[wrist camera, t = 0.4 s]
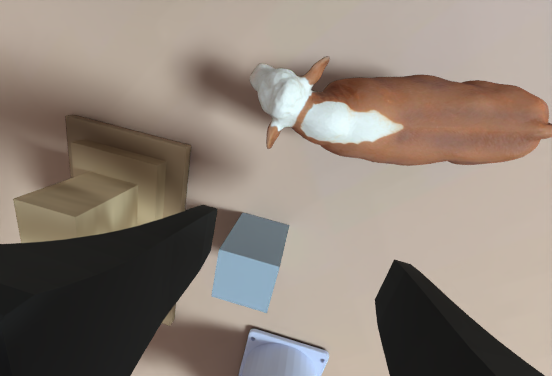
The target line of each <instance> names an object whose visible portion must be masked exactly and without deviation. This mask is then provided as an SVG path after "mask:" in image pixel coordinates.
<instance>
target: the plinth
mask: <svg viewBox="0 0 552 376" xmlns="http://www.w3.org/2000/svg"><path fill="white" fill-rule="evenodd" d="M65 118H66V129H67V141H68V153H69V164H70V176H71V178H74V177H77V176H79V175H82V174H85V173H88V172H93V173H97V174H100V175H104V176H108V177H111V178H115V179H118V180H122V181H126V182H129V183H133V184H136V185H138V210H137V226H139V225H142V224H145V223H149V222H152V221H155V220H159V219H162V218H165V217H168V216H171V215H174V214H177V213H180V212H183V211H185V203H186V193H187V182H188V172H189V162H190V152H191V145H187V144H183V143H179V142H176V141H172V140H168V139H164V138H160V137H157V136H153V135H149V134H145V133H141V132H138V131H134V130H130V129H126V128H122V127H119V126H115V125H111V124H107V123H103V122H100V121H96V120H92V119H88V118H84V117H80V116H77V115H68V116H65ZM175 306H176V304H175V305H174V306H173V308H172V309H171V310H170V312H169V313H168V315H167V316H166V317H165V319H164V320H163V322H162V324H165V325H169V326H170V325H171V324H172V322H173V321H174V317H175Z"/></svg>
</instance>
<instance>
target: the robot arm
mask: <svg viewBox="0 0 552 376" xmlns="http://www.w3.org/2000/svg"><path fill="white" fill-rule="evenodd" d="M216 215H217V209H216V208H213V207H209V206H206V205H201V206H197V207H194V208H191V209H188V210H185V211H183V212H180V213H177V214H174V215H171V216H168V217H165V218H162V219H159V220H155V221H152V222H149V223H145V224H142V225H139V226H135V227H131V228H127V229H123V230H118V231H113V232H109V233H103V234H98V235H91V236H84V237H77V238H71V239H63V240H54V241H44V242H31V243H16V244H0V376H130V375H131V373H132V372H133V370H134V368H135V366H136V365H137V363H138V361H139V360H140V358H141V356H142V354H143V353H144V351H145V349H146V348H147V346H148V344H149V343H150V341H151V339H152V338H153V336H154V334H155V333H156V331H157V329H158V328H159V326H160V325H161V323H162V322H163V320H164V319H165V317H166V316H167V315H168V313H169V312H170V310H171V309H172V308H173V306H174V305H175V304H176V302H177V301H178V300H179V298H180V297H181V296H182V294H183V293H184V292H185V290H186V289H187V287H188V286H189V285H190V283H191V282H192V281H193V279H194V278H195V276H196V275H197V274H198V272H199V271H200V269H201V267H202V266H203V264H204V262H205V260H206V258H207V257H208V255H209V253H210V251H211V246H212V240H213V234H214V227H215V221H216ZM375 305H376V316H377V324H378V329H379V333H380V337H381V342H382V346H383V350H384V354H385V358H386V362H387V366H388V370H389V374H390V376H544V375H543V374H542V373H540V372H539V371H538V370H536V369H535V368H533V367H532V366H531V365H529V364H528V363H527V362H525V361H524V360H523V359H521V358H520V357H519V356H517V355H516V354H515V353H513V352H512V351H511V350H510V349H508V348H507V347H506V346H504V345H503V344H502V343H500V342H499V341H498V340H497V339H495V338H494V337H493V336H492V335H491V334H489V333H488V332H487V331H486V330H485V329H483V328H482V327H481V326H480V325H479V324H478V323H476V322H475V321H474V320H473V319H472V318H470V317H469V316H468V315H467V314H466V313H465V312H464V311H463V310H461V309H460V308H459V307H458V306H457V305H456V304H455V303H454V302H453V301H451V300H450V299H449V298H448V297H447V296H446V295H445V294H444V293H443V292H442V291H441V290H439V289H438V288H437V287H436V286H435V285H434V284H433V283H432V282H431V281H430V280H429V279H428V278H426V277H425V276H424V275H423V274H422V273H421V272H420V271H418V270H417V269H416V268H415V267H413V266H412V265H411V264H408V263H405V262H401V261H398V260H394V261H393V263H392V265H391V268H390V270H389V272H388V274H387V276H386V278H385V280H384V282H383V284H382V286H381V288H380V290H379V292H378V294H377V296H376V298H375ZM328 359H329V353H328V352H327V351H325V350H322V349H319V348H316V347H313V346H309V345H306V344H303V343H300V342H296V341H293V340H290V339H287V338H284V337H280V336H277V335H274V334H271V333H267V332H264V331H261V330H258V329H251V330H250V332H249V336H248V340H247V344H246V347H245V351H244V355H243V359H242V363H241V367H240V371H239V375H238V376H321V375H322V372H323V370H324V368H325V366H326V363H327V361H328Z"/></svg>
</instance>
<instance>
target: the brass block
mask: <svg viewBox="0 0 552 376" xmlns="http://www.w3.org/2000/svg"><path fill="white" fill-rule="evenodd" d="M13 200H14V206H15V211H16V217H17V222H18V228H19V233H20V239H21V243H31V242H44V241H54V240H63V239H71V238H77V237H84V236H91V235H98V234H103V233H109V232H113V231H118V230H123V229H127V228H131V227H135V226H137V210H138V185H136V184H133V183H129V182H126V181H122V180H118V179H115V178H111V177H108V176H104V175H100V174H97V173H93V172H88V173H85V174H82V175H79V176H77V177H74V178H71V179H68V180H65V181H62V182H60V183H57V184H54V185H51V186H48V187H45V188H43V189H40V190H37V191H34V192H31V193H28V194H26V195H23V196H20V197H17V198H14V199H13Z"/></svg>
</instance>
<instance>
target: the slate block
mask: <svg viewBox="0 0 552 376" xmlns="http://www.w3.org/2000/svg"><path fill="white" fill-rule="evenodd" d="M288 229H289V225H287V224H283V223H279V222H276V221H272V220H269V219H265V218H261V217H258V216H254V215H251V214H247V213H242V214H241V216H240V218H239V219H238V221H237V222H236V224H235V225H234V227H233V229H232V230H231V232H230V233H229V235H228V236H227V238H226V239H225V241H224V243H223V244H222V246H221V247H220V249H219V253H218V259H217V265H216V272H215V278H214V284H213V290H212V297H216V298H219V299H222V300H226V301H229V302H232V303H235V304H239V305H242V306H245V307H249V308H252V309H255V310H258V311H262V312H265V313H267V310H268V307H269V303H270V299H271V296H272V292H273V289H274V285H275V282H276V278H277V274H278V271H279V267H280V263H281V259H282V254H283V250H284V246H285V242H286V237H287V233H288Z"/></svg>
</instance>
